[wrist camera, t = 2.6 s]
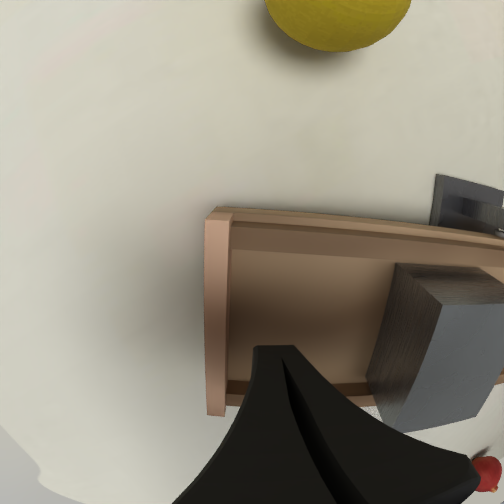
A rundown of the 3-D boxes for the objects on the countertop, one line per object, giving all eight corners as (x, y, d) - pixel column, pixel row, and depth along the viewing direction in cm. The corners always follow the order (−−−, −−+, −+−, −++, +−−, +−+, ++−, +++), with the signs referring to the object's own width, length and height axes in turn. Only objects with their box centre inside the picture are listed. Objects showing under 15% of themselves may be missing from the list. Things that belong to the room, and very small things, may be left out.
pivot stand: (447, 366, 19) (480, 404, 15) (387, 378, 19) (418, 426, 14) (496, 189, 15) (550, 204, 10) (436, 174, 15) (498, 186, 10)
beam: (537, 352, 15) (558, 373, 12) (216, 374, 16) (207, 417, 13) (573, 245, 13) (600, 258, 9) (218, 199, 13) (205, 213, 10)
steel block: (443, 369, 13) (475, 416, 10) (364, 376, 13) (387, 435, 10) (479, 267, 12) (530, 302, 8) (395, 262, 12) (442, 305, 8)
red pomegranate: (491, 449, 28) (512, 479, 21) (463, 472, 29) (482, 503, 22) (485, 443, 27) (509, 477, 19) (456, 468, 28) (477, 503, 20)
